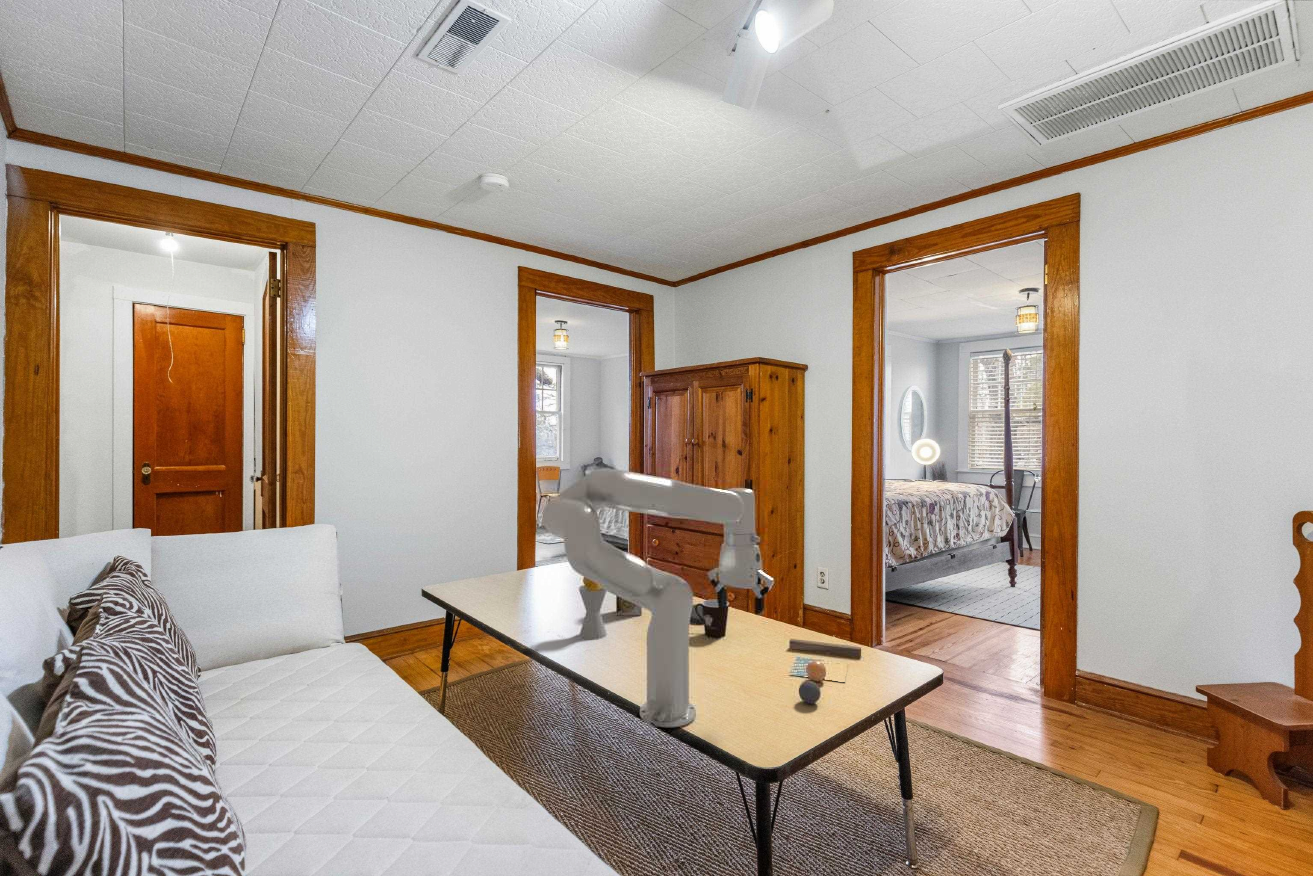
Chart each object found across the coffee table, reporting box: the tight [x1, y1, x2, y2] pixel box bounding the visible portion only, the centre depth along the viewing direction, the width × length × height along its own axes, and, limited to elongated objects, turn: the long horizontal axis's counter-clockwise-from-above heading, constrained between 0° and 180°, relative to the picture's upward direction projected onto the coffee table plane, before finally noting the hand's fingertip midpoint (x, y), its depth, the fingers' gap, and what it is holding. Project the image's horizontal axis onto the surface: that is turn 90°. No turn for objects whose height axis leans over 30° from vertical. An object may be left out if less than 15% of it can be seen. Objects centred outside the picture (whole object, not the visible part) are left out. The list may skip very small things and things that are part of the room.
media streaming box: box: [690, 604, 704, 625], centre depth 213 cm, size 15×15×3 cm
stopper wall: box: [789, 638, 862, 658], centre depth 177 cm, size 2×20×2 cm, turn 69°
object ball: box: [806, 661, 826, 682], centre depth 157 cm, size 5×5×5 cm
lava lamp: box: [578, 577, 608, 640], centre depth 193 cm, size 9×9×35 cm
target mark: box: [789, 656, 839, 678], centre depth 164 cm, size 14×14×1 cm
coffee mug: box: [695, 599, 730, 639], centre depth 195 cm, size 12×9×10 cm
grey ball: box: [798, 680, 821, 705], centre depth 144 cm, size 5×5×5 cm
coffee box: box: [615, 595, 643, 616], centre depth 217 cm, size 9×6×16 cm
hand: (740, 610), depth 148 cm, fingers open, 9 cm apart
